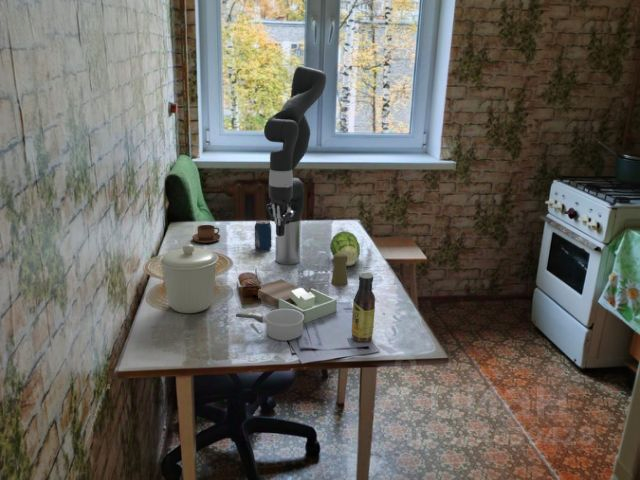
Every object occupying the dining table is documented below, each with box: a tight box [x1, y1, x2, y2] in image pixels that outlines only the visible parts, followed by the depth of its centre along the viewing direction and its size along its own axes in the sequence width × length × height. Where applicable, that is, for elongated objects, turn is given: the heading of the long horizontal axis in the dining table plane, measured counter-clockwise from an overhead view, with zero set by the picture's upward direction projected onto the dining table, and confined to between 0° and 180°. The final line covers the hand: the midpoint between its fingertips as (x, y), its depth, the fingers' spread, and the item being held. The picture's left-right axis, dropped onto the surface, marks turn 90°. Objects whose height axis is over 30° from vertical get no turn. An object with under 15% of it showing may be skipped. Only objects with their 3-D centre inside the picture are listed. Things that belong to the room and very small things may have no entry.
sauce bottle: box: [351, 272, 376, 343], centre depth 163 cm, size 7×6×20 cm
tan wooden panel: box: [258, 278, 310, 309], centre depth 192 cm, size 15×12×3 cm
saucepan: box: [235, 308, 304, 341], centre depth 167 cm, size 12×20×6 cm, turn 86°
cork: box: [330, 253, 349, 287], centre depth 205 cm, size 6×6×11 cm
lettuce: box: [329, 231, 361, 267], centre depth 225 cm, size 12×21×11 cm, turn 5°
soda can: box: [254, 219, 272, 252], centre depth 239 cm, size 7×7×12 cm
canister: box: [158, 243, 219, 314], centre depth 181 cm, size 18×18×21 cm
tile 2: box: [297, 291, 316, 310], centre depth 183 cm, size 4×4×2 cm
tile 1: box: [290, 287, 307, 305], centre depth 185 cm, size 4×4×2 cm
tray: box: [279, 288, 338, 325], centre depth 183 cm, size 12×14×4 cm
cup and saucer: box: [191, 224, 221, 244], centre depth 249 cm, size 12×12×6 cm
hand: (280, 235), depth 186 cm, fingers closed
